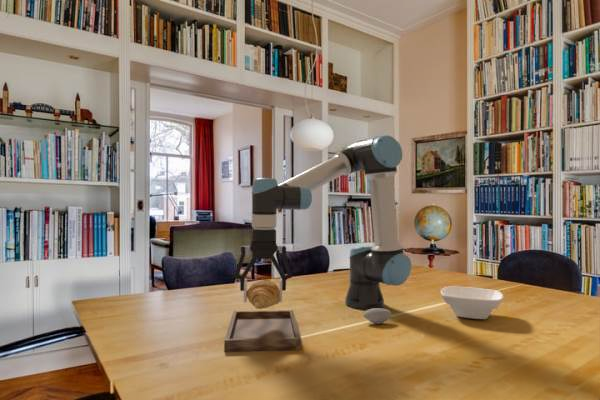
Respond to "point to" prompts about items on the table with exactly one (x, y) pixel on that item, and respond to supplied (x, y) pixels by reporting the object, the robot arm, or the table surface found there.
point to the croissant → (263, 294)
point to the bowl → (471, 301)
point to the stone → (377, 315)
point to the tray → (262, 331)
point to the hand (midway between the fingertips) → (263, 301)
